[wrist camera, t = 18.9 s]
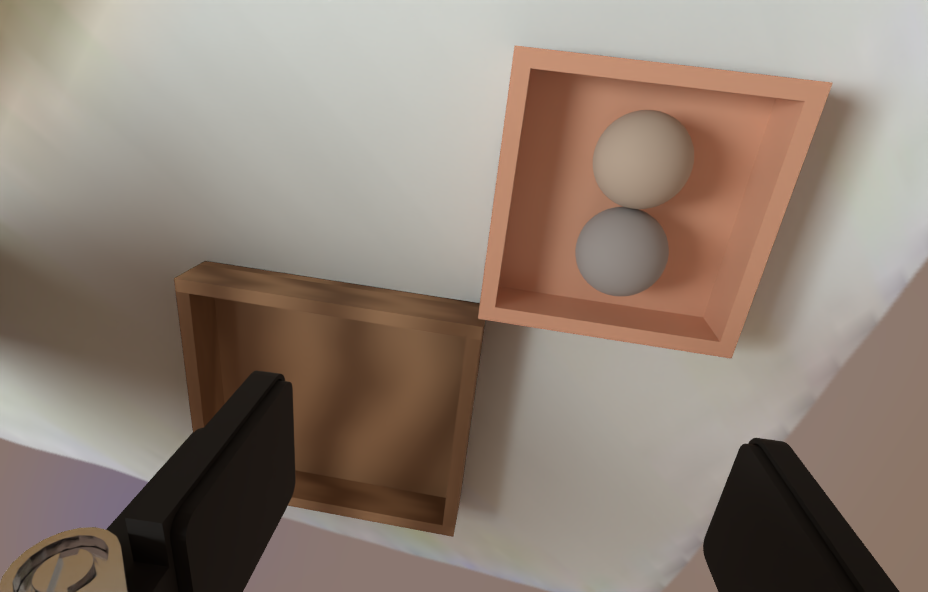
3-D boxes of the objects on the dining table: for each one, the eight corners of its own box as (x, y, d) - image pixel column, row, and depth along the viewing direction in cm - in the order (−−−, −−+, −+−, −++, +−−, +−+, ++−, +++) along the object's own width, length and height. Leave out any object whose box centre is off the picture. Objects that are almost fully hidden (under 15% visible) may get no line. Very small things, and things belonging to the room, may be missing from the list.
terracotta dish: (484, 293, 31) (477, 318, 27) (517, 49, 25) (514, 45, 22) (710, 327, 30) (731, 358, 26) (793, 81, 24) (832, 82, 21)
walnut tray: (224, 459, 38) (199, 488, 36) (204, 261, 32) (173, 278, 29) (459, 502, 37) (453, 536, 34) (487, 304, 31) (482, 327, 28)
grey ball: (580, 192, 27) (591, 212, 23) (665, 204, 27) (692, 226, 23) (564, 272, 29) (571, 303, 25) (644, 283, 28) (665, 316, 24)
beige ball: (598, 101, 25) (611, 106, 21) (690, 112, 25) (721, 120, 21) (579, 191, 27) (589, 212, 23) (665, 203, 27) (690, 226, 23)
